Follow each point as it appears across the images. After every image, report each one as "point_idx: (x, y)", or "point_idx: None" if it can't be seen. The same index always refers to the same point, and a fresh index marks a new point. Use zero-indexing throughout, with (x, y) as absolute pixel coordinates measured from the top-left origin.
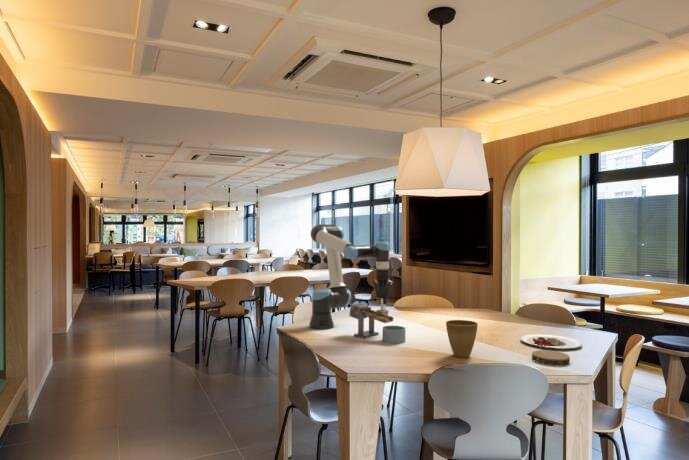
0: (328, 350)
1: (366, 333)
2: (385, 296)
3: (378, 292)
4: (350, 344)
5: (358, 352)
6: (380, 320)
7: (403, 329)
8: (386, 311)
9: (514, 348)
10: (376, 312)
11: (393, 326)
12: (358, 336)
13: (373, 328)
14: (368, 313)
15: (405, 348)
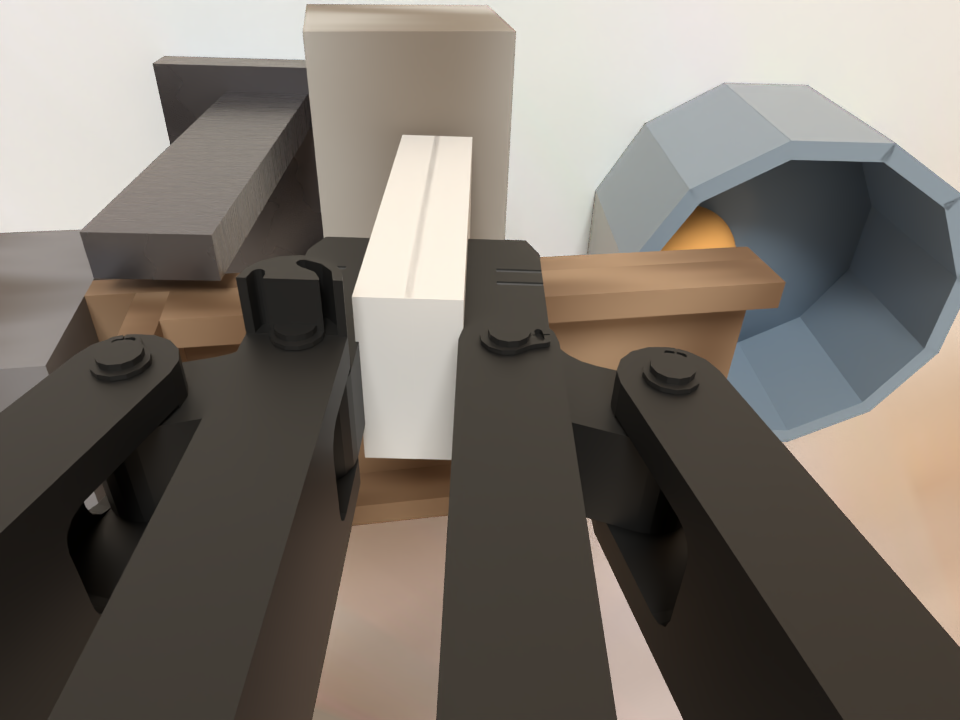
0: (433, 708)
1: (293, 234)
2: (603, 536)
3: (91, 605)
4: (440, 558)
5: (629, 652)
6: None
7: (955, 311)
8: (508, 130)
9: None
10: None
11: (720, 186)
12: None
13: (299, 132)
14: (361, 521)
15: (944, 404)
